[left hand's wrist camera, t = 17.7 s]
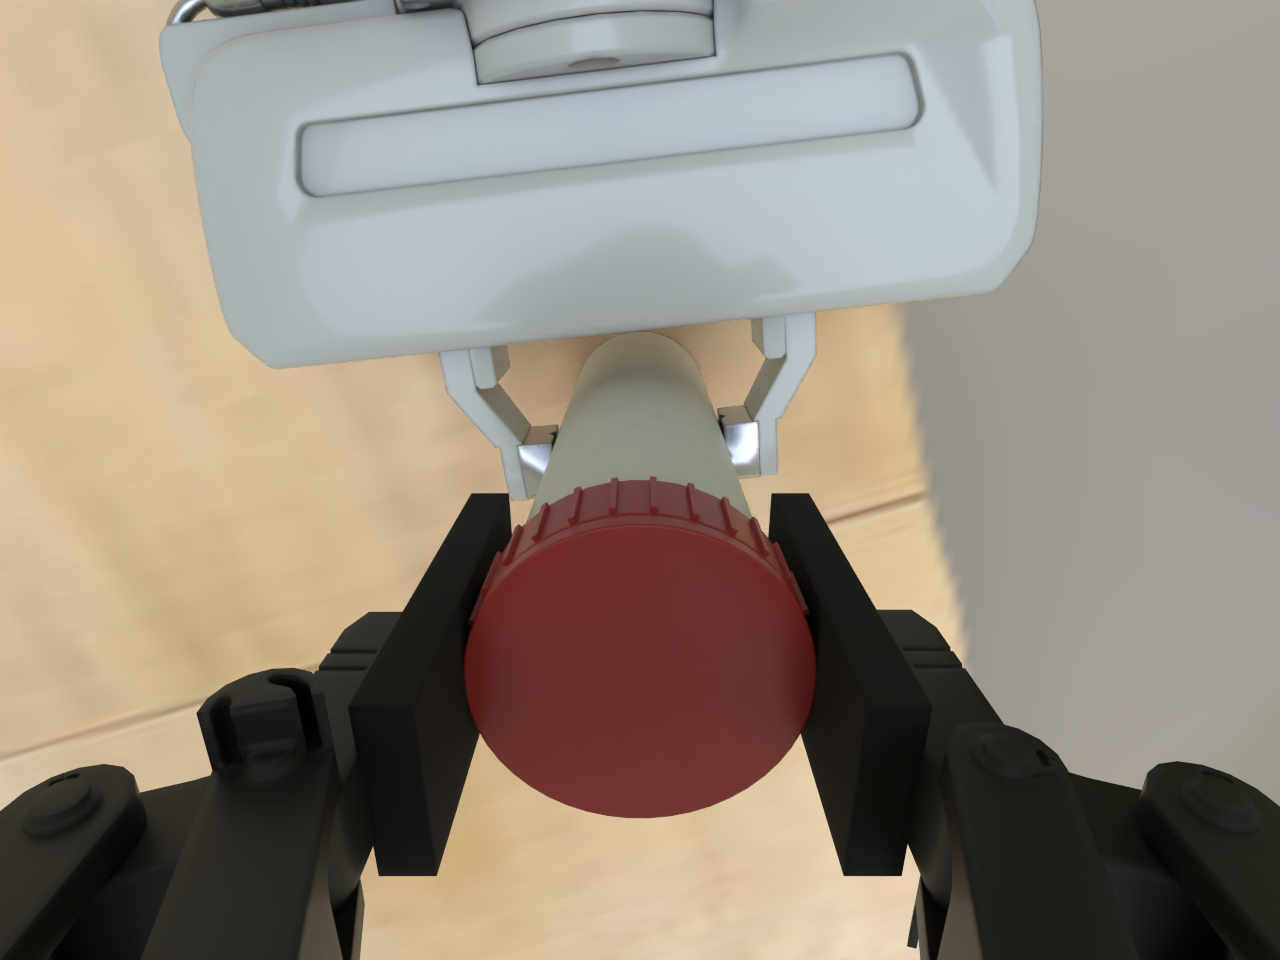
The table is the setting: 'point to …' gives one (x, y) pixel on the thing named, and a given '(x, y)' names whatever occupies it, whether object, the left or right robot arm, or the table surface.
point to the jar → (640, 424)
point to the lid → (640, 651)
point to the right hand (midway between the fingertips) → (644, 481)
